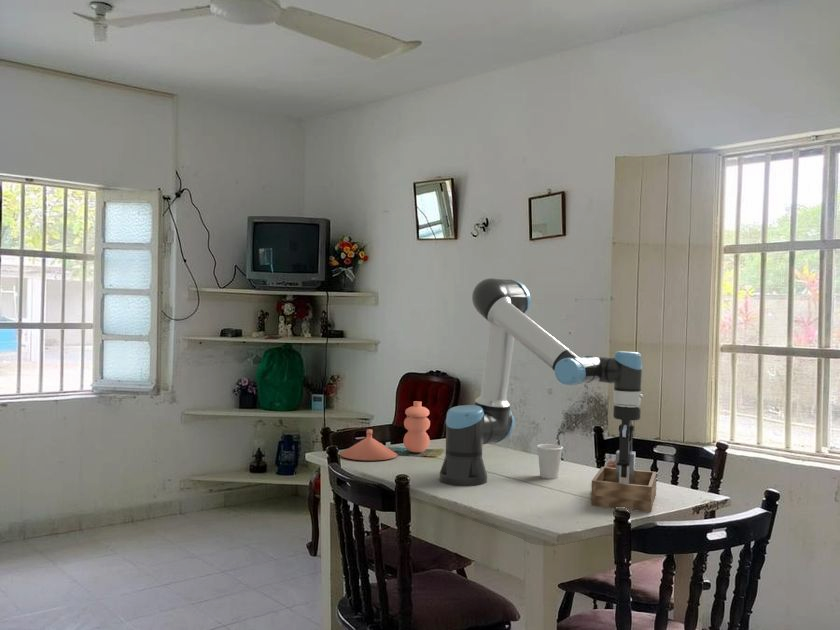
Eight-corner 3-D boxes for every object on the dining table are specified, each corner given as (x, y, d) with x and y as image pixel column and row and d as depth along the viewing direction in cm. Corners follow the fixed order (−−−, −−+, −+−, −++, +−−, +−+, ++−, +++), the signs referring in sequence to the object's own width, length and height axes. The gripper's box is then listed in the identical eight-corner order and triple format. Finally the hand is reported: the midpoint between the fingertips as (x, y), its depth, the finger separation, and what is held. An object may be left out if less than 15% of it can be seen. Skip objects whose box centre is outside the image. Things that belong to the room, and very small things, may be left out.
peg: (614, 487, 213) (615, 452, 213) (616, 484, 218) (617, 450, 218) (633, 489, 211) (634, 454, 211) (634, 486, 216) (635, 451, 216)
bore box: (591, 505, 208) (591, 480, 207) (601, 489, 227) (601, 466, 227) (651, 512, 202) (651, 487, 202) (656, 495, 221) (656, 472, 221)
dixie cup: (541, 472, 249) (542, 442, 249) (565, 476, 245) (566, 445, 245) (532, 477, 242) (532, 446, 242) (556, 480, 238) (557, 449, 238)
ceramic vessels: (352, 462, 259) (354, 408, 259) (331, 451, 278) (333, 400, 278) (441, 455, 275) (442, 404, 275) (415, 445, 294) (416, 398, 294)
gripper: (637, 409, 205) (635, 494, 205) (643, 402, 221) (640, 481, 222) (609, 407, 207) (607, 491, 207) (617, 401, 224) (615, 478, 224)
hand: (624, 485), depth 214 cm, fingers closed on peg, 5 cm apart
